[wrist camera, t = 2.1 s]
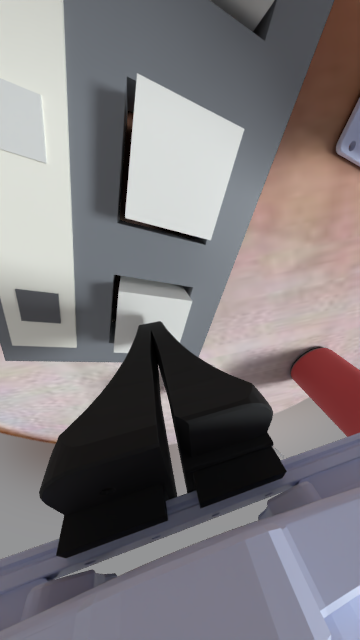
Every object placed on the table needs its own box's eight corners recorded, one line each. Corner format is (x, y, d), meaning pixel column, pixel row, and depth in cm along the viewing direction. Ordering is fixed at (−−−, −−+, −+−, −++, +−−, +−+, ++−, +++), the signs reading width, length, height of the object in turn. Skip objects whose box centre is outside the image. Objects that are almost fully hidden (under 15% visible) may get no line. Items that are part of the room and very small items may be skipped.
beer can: (324, 368, 28) (428, 453, 19) (286, 383, 28) (371, 478, 18) (332, 338, 25) (467, 425, 15) (289, 356, 25) (396, 456, 15)
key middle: (215, 148, 10) (244, 129, 7) (194, 233, 12) (210, 240, 10) (135, 112, 9) (137, 73, 6) (126, 215, 11) (125, 217, 8)
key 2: (181, 284, 14) (192, 301, 11) (169, 331, 16) (176, 354, 13) (121, 274, 12) (118, 291, 10) (116, 327, 14) (113, 352, 12)
